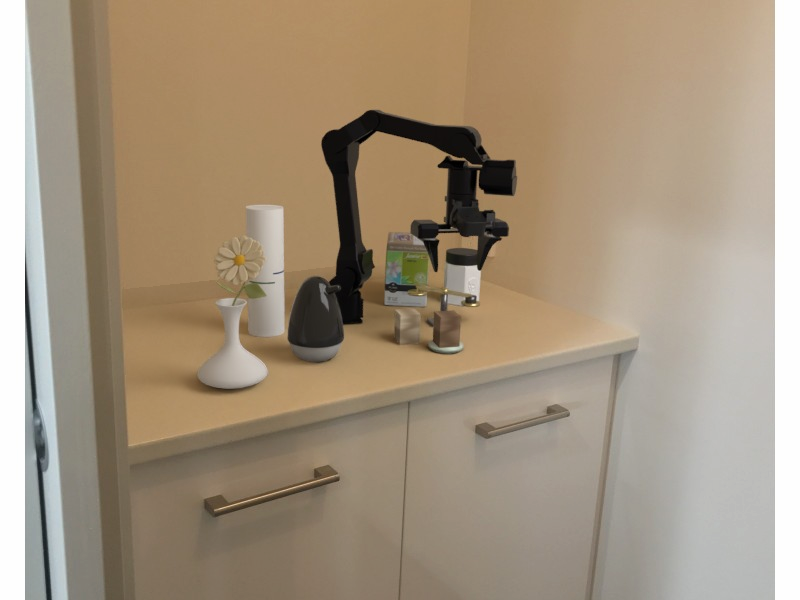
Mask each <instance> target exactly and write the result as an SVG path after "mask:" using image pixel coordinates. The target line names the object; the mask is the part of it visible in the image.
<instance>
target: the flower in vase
mask: <svg viewBox="0 0 800 600" xmlns="http://www.w3.org/2000/svg"><path fill="white" fill-rule="evenodd" d="M262 248H263V246H262V245H261V244H259V242H258V241H255V240H252V238H248V237H246V235H243V234H242V235H241V236H238V237H236V236H233V237H232V238H231V239H229V241H228V240H225V241H224V242H223V243H222V245H221V247H218V248H217V254H216V255H214V260H213V263H214V265H216V266H215V270H216V271H218V272H216V275H217V277H219V278H220V279H222V280H224V282H229V283H230V284H231V285H233V286H237V285H242V286H241V288H240V290H239V291H238V293H236V292H235V291H234V290H233V289H232V288H231V287H228V286H227V285H224V284H223V283H220V282H219V281H217V279H216V278H215V282H216V284H217V285H218V286H220V287H221V288H223V289H225V290H227V291H229V292H230V293H232V294H234V295H236V296H235V297H226V298H220V299H217V300H216V301H215V302H214V304H215V306H217V308H218V310H219V311H220V314H221V316H222V320H223V326H224V327H223V328H224V342H223V345H222V347H221V348H220V349H219V350H217V352H216V353H214V354H212V355H211V356H210V357H209V358H207V359H206V360H205V361H204V362H203V364H201V366H199V369H198V371H197V378H198V380H199V381H200V382H201V383H202V384H204V385H207V386H210V387H213V388H219V389H225V390H229V389H242V388H247V387H251V386H253V385H256V384H258V383H260V382H262V381H264V379H266V378H267V375H268V373H269V370H268V368H267V366H266V364H265V363H264V362H263V361H262V360H261V359H260V358H259V357H257V356H256V355H254V354H253V353H252V352H251V351H248V350H247V349H246V348H244V346H243V345H242V343H241V341H240V333H239V332H240V318H241V314H242V312H243V309H244V308H245V306H246V305H247V304H248V300H246V299H244V298H239V296H241V293H242V292H243V291H244V293H245V295H246V296H247V298H248V297H249V298H251V299H255V298H261V297H265V296H267V295H266V294H265V292H264V291H263V289H262V288H261V287H260V286H259V285H258V284H257V283H251V284H248V285H247V281H251V280H252V279H255V278H256V276H258V274H259V273H258V271H260V270H262V266H263V265H264V262H265V261H266V258H265V257H263V255H264V251H263V250H262Z"/></svg>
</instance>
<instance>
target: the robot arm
mask: <svg viewBox="0 0 800 600" xmlns="http://www.w3.org/2000/svg"><path fill="white" fill-rule="evenodd" d="M377 132H379V133H383V134H386V135H391V136H394V137H398V138H403V139H407V140H411V141H415V142H419V143H424V144H427V145H429V146H432V147H434V148H436V149H437V150H439V151H442V152H443V153H445V154H447V155H446V156H445V157H444V159H443V160H442V161H441V162H440V163H438V164H437V168H438V169H446V170H447V180H446V181H447V183H446V184H447V185H446V195H444V202H446V205H445V206H446V207H445V208H446V209H445V216H443V222H444V223H437V222H435V221H433V220H432V219H414V220H413V221H412V222H411V224H410V231H409V233H411V234H412V235H414V236H415V237H417V238H418V239H420V240H421V241H423V243H424V245H425V247H426V249H427V252H428V255H429V262H430V263H431V267H432V270H433V272H434V273H438V271H439V249H438V248H439V244H440V240H441V239H438V238H437V237H438V236H439V234H459V236H461V237H462V238H470V237H477V249H476V250H477V269H478V270H479V271H481V272H482V269H483V267H484V265H485V262H486V260H487V257H488V255H489V253H490V251H491V249H492V248H493V246H494V245H495V244H496V243H497V242H501V241H502V239H503V237H505V238H506V237H509V231H510V227H509V224H508V222H507V221H505V220H502V219H500V218H497V217H496V212H495V211H494V209H484V210H480V207H479V204H480V203H479V199H477V189H480V191H483V194H484V195H491V196H492V195H493V196H506V197H507V196H509V197H515V194H516V191H517V185H518V176H517V167H516V165H517V164H516V163H517V162H516V159H504V160H503V159H491V157H490V156H489V154H488V153H487V150H485V148H484V146H483V145H482V136H481V134H480V132H479V130H478V129H477V128H476V127H473V126H468V125H452V124H449V125H448V124H446V125H445V124H442V125H441V124H434V123H429V122H426V121H422V120H417V119H414V118H409V117H406V116H405V117H404V116H400V115H397V114H393V113H389V112H385V111H383V110H380V109H369V110H366V111H365V112H364V113H363V114H361V115H360V116H359V117H357V118H355V119H353V120H352V121H350V122H348V123H347V124H345V125H343V126H342V127H340V128H336V129H335V128H334V129H331V130H329V131H327V132H326V133H324V135H323V137H322V138H321V142H320V143H321V144H320V146H321V150H322V154H323V157H324V161H325V164H326V166H327V168H328V169H329V171H330V174H331V176H332V182H333V191H334V199H335V200H334V201H335V209H336V219H337V229H338V238H339V249H338V253H337V256H336V262H335V275H334V276H333V278H331V279H330V280H328V282H329V283H330V285H331V286H334V285H340V286H341V290H340V291H337V292H335V295H336V298H337V301H338V304H339V307H340V311H341V315H342V321H343V325H347V324H348V325H349V324H362V323H364V322H363V317H364V299H363V297H362V292H361V291H360V289H362V288H363V286H364V283H366V282H367V281H368V280H369V279H370V278H371V277H372V274H373V269H374V268H376V266H375V264H374V261H373V260H374V259H373V256H374V250H373V249H372V248H371V249H367V248H366V247H365V245H364V243H363V237H362V229H361V220H360V219H361V218H360V209H359V200H358V199H359V198H358V189H357V181H356V180H357V179H356V171H357V170H356V169H357V166H358V162H359V158H360V157H359V156H360V145H362V144H363V143H364V142H366V141H368V139H370V138H371V137H372V136H373V135H374V134H376V133H377ZM452 157H454V158H456V159H453V158H452ZM461 159H462V160H461ZM463 159H464V160H463ZM469 164H471V165H469Z"/></svg>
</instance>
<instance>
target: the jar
mask: <svg viewBox="0 0 800 600" xmlns="http://www.w3.org/2000/svg"><path fill="white" fill-rule="evenodd" d="M481 275H482V270H481V271H479V270H478V269H477V249H474V248H469V247H468V248H467V247H454V248H453V247H452V248H448V249H446V251H445V260H444V278H443V279H444V280H443V287H446V288H448V290H452V291H458V292H463V293H469V294H472V295H476V296H477V299H476V301H479V302H480V294H481V293H480V290H481V278H482V277H481ZM463 300H465V297H461V296H455V295H450V294H448V299H447V305H453V306H459V307H464V306H463V305H461V301H463Z"/></svg>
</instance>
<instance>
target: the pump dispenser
mask: <svg viewBox="0 0 800 600" xmlns="http://www.w3.org/2000/svg"><path fill="white" fill-rule="evenodd" d="M340 290H341V286H340V285H334V286H331V285H330V283H329V280H328V279H326V278H325V277H322V276H320V275H313V276H309V277H307V278H305V280H303V281H302V283H301V284H300V286H299V287H298V290H297V292H296V293H295V297H294V300H293V303H292V305H291V308H290V309H291V310H290V314H289V318H288V325H287V334H286V335H287V341H288V342H289V346H290V348H291V351H292V353H293V354H294V355H295V356H296V357H298V358H299V359H301V360H303V361H306V362H309V363H310V362H312V363H321V362H325V361H328V360H331V359H332V358H333V357H335V356H336V355H337V354H338V352H340V351H339V350H340V349H341V346H342V344H343V342H344V340H345V330H344V324H343V321H342V315H341V311H340V307H339V304H338V301H337V298H336V295H335V292H337V291H340Z"/></svg>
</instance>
